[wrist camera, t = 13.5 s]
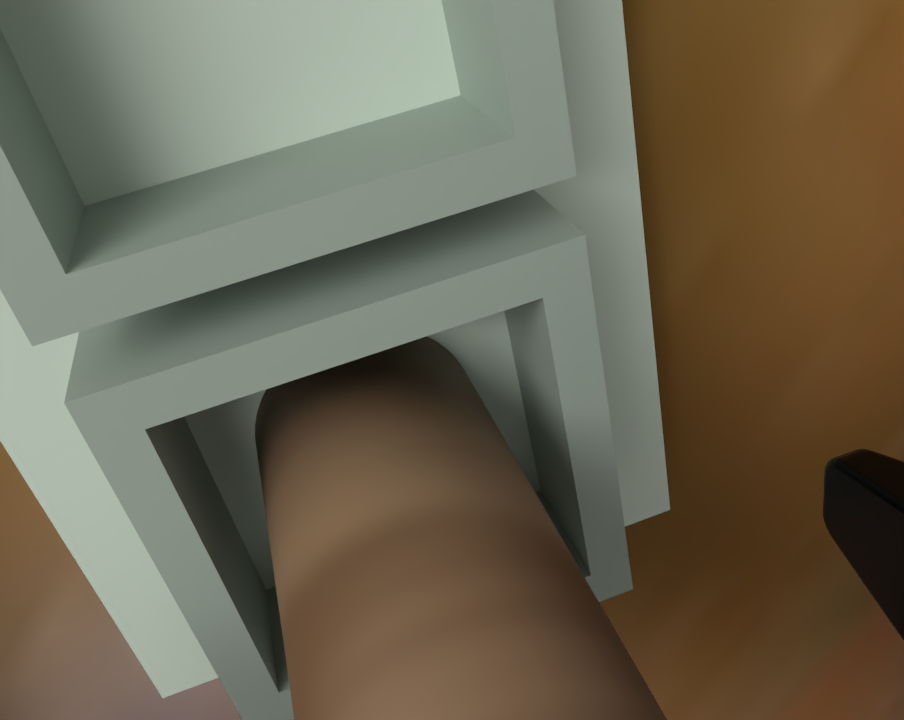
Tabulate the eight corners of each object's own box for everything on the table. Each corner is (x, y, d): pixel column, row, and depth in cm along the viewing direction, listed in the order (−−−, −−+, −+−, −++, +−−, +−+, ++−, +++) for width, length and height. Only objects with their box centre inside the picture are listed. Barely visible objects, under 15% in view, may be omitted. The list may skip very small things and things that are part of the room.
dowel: (491, 471, 13) (806, 1069, 7) (294, 541, 13) (420, 1250, 6) (449, 296, 12) (816, 862, 5) (221, 369, 11) (288, 1093, 5)
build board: (638, 469, 16) (732, 590, 13) (163, 642, 15) (161, 812, 12) (513, -598, 8) (669, -815, 6) (-464, -412, 7) (-830, -574, 5)
